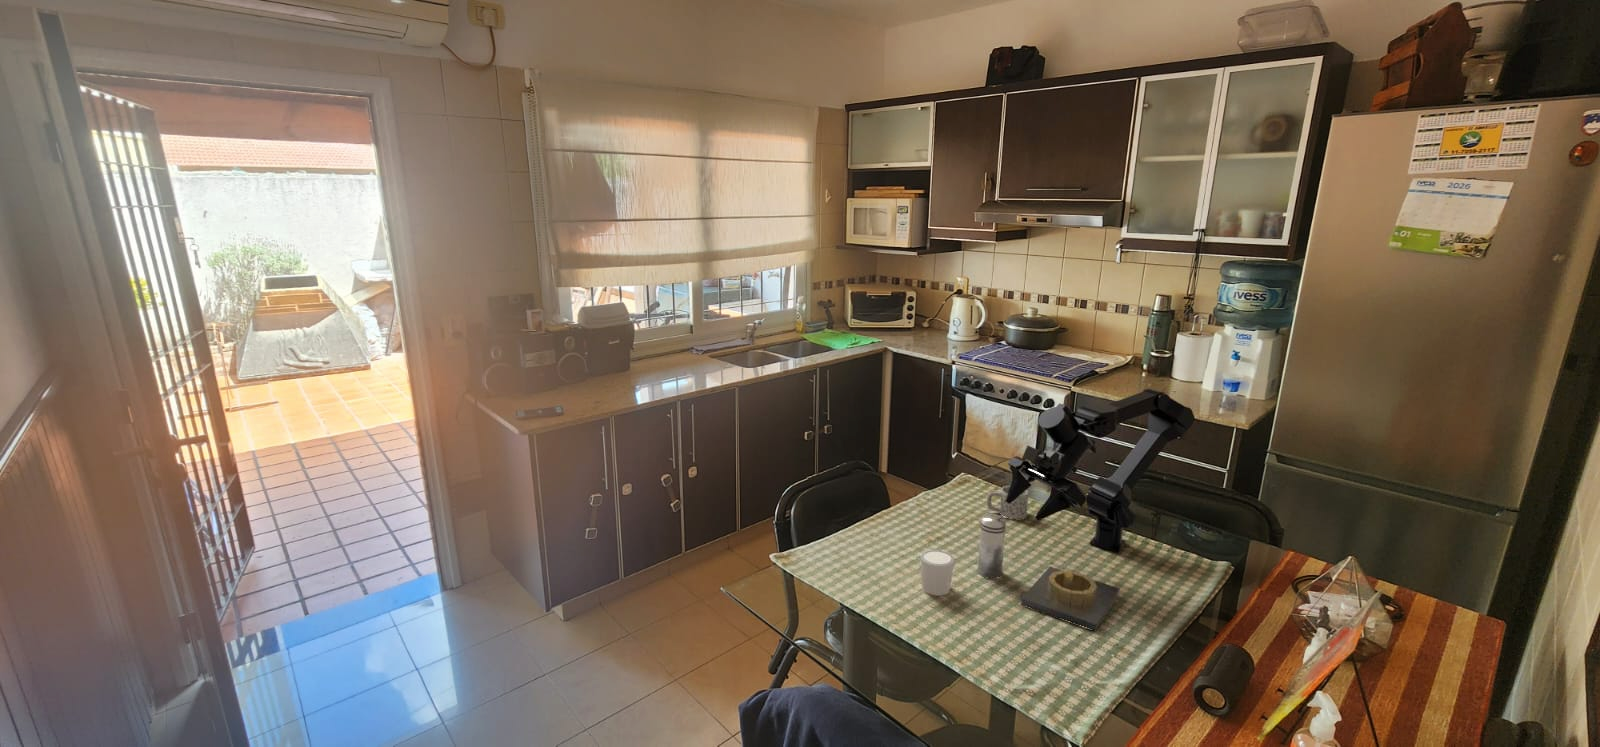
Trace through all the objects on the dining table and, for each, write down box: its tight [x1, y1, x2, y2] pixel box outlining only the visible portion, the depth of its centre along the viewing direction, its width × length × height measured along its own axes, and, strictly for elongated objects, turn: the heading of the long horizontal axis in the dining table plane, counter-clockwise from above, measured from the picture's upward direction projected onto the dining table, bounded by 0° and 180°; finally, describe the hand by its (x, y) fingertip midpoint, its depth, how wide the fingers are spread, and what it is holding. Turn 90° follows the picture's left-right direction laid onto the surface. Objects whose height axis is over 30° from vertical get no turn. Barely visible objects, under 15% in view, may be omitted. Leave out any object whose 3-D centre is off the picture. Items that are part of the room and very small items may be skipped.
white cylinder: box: [919, 549, 956, 597], centre depth 137 cm, size 7×7×7 cm
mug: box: [986, 485, 1029, 520], centre depth 173 cm, size 10×7×7 cm, turn 77°
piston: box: [977, 513, 1007, 579], centre depth 143 cm, size 5×5×12 cm
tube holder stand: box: [1020, 566, 1121, 632], centre depth 133 cm, size 16×14×4 cm
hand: (1021, 510), depth 144 cm, fingers open, 9 cm apart
